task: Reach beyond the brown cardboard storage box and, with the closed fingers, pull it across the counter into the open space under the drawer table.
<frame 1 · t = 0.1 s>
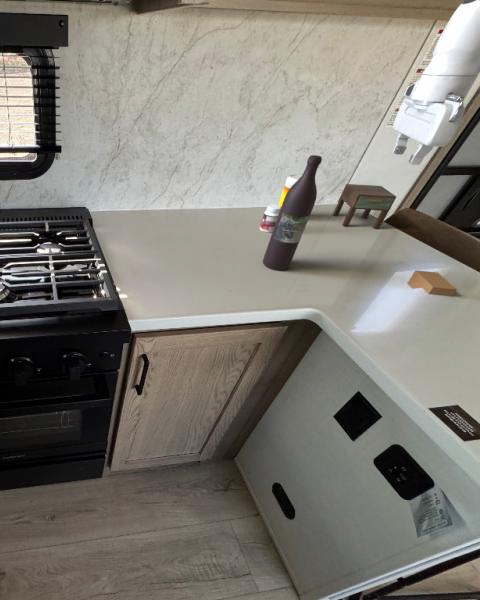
hand: (405, 158, 82), 30 cm above the countertop, tool pointing down, fingers open, 8 cm apart
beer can: (282, 218, 128), on the countertop
drawer table: (354, 221, 124), on the countertop
pill bottle: (266, 230, 120), on the countertop
wine bottle: (275, 265, 100), on the countertop
storage box: (426, 292, 88), on the countertop
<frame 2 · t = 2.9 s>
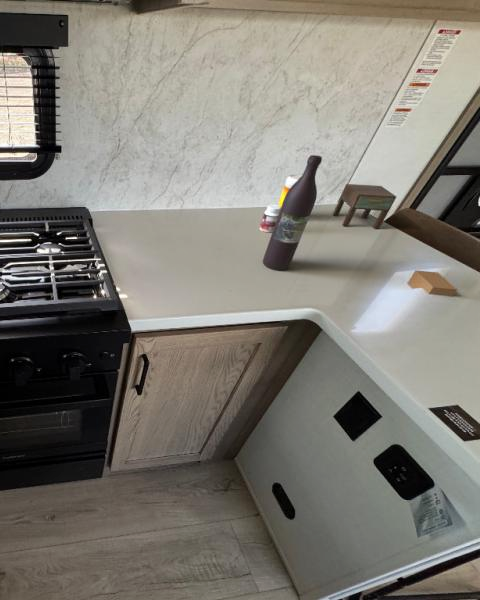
nothing on the countertop moved.
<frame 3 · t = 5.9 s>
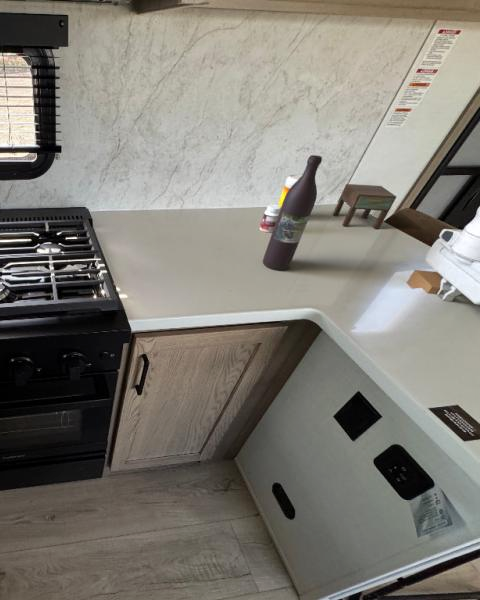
hand: (443, 298, 83), 2 cm above the countertop, tool pointing down, fingers closed
storage box: (425, 291, 89), on the countertop, touching gripper
everything else where it was.
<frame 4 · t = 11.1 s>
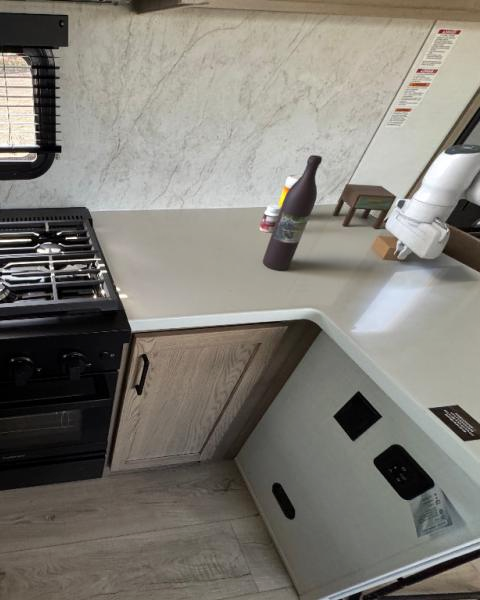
hand: (398, 257, 99), 2 cm above the countertop, tool pointing down, fingers closed
storage box: (386, 253, 105), on the countertop, touching gripper
everything else where it was.
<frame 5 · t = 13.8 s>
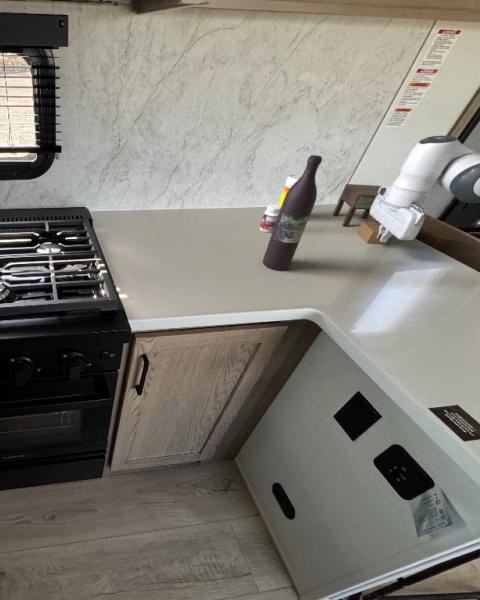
hand: (380, 240, 108), 2 cm above the countertop, tool pointing down, fingers closed
storage box: (370, 238, 113), on the countertop, touching gripper
everything else where it was.
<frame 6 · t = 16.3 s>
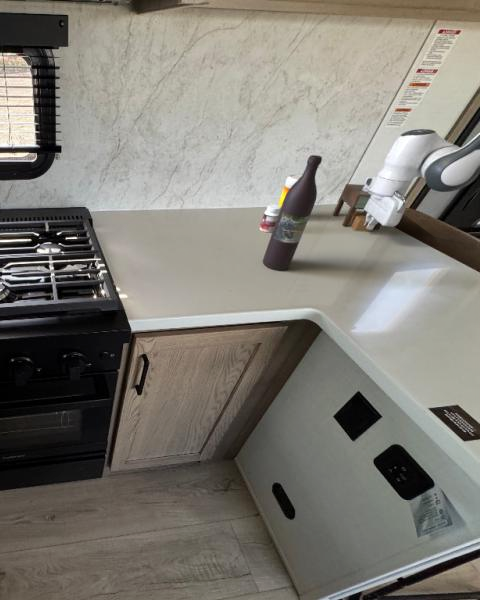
hand: (367, 227, 115), 2 cm above the countertop, tool pointing down, fingers closed
storage box: (358, 226, 121), on the countertop, touching gripper
everything else where it was.
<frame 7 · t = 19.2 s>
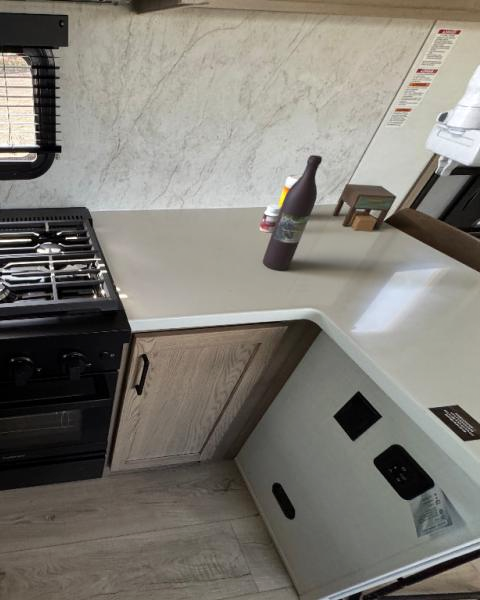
hand: (441, 174, 95), 22 cm above the countertop, tool pointing down, fingers closed
storage box: (358, 226, 121), on the countertop
everything else where it was.
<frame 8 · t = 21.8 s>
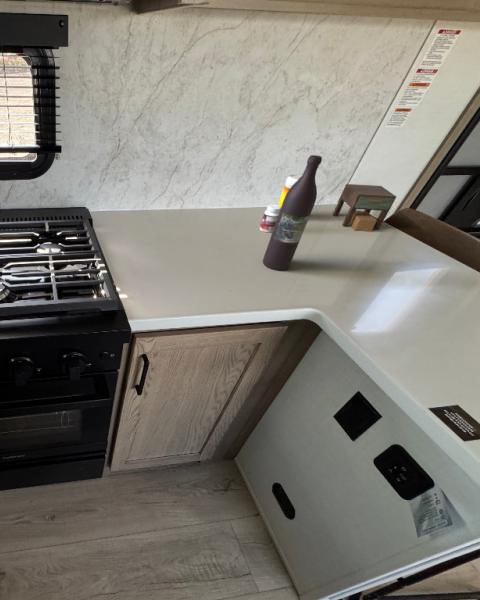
nothing on the countertop moved.
at the end: storage box 4.2 cm from the drawer table (horizontally); storage box tilted 0°; storage box moved 41.5 cm from its start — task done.
